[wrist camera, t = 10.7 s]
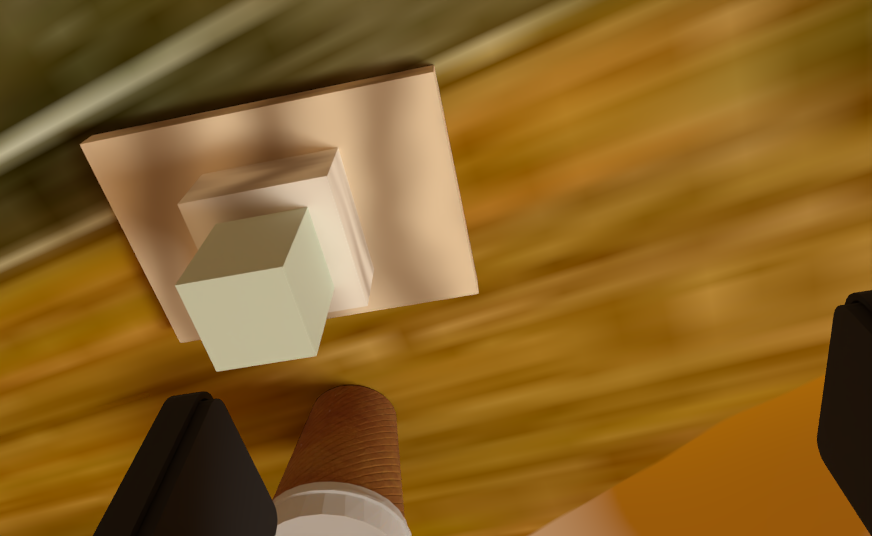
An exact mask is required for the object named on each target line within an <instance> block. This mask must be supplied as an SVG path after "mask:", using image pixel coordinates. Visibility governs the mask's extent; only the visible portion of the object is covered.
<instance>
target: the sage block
mask: <svg viewBox="0 0 872 536" xmlns="http://www.w3.org/2000/svg"><path fill="white" fill-rule="evenodd" d="M175 287H176V289H177V291H178V293H179V295H180V297H181V299H182V301H183V303H184V305H185V307H186V309H187V311H188V314H189V316H190V318H191V320H192V322H193V324H194V326H195V328H196V330H197V332H198V334H199V336H200V338H201V340H202V343H203V345H204V347H205V349H206V351H207V353H208V355H209V357H210V359H211V361H212V363H213V365H214V367H215V369H216V371H217V372H218V371H224V370H230V369H237V368H243V367H249V366H256V365H262V364H268V363H275V362H281V361H287V360H294V359H300V358H306V357H313V356H317V352H318V348H319V344H320V341H321V337H322V333H323V329H324V325H325V322H326V318H327V314H328V310H329V307H330V303H331V299H332V295H333V292H334V288H335V287H334V284H333V281H332V278H331V275H330V272H329V269H328V266H327V263H326V260H325V257H324V254H323V251H322V248H321V245H320V242H319V240H318V237H317V234H316V231H315V228H314V225H313V222H312V219H311V216H310V213H309V210H308V207H305V208H299V209H294V210H288V211H283V212H277V213H272V214H267V215H261V216H256V217H250V218H245V219H239V220H234V221H229V222H223V223H218V224H215V226H214V227H213V229H212V230H211V232H210V233H209V235H208V236H207V238H206V239H205V241H204V242H203V244H202V245H201V247H200V248H199V250H198V251H197V253H196V254H195V256H194V257H193V259H192V260H191V262H190V263H189V265H188V266H187V268H186V269H185V271H184V273H183V274H182V276H181V277H180V279H179V280H178V282H177V283H176V285H175Z"/></svg>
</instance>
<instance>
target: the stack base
mask: <svg viewBox="0 0 872 536" xmlns="http://www.w3.org/2000/svg"><path fill="white" fill-rule="evenodd" d="M80 146H81V148H82V150H83V152H84V154H85V156H86V158H87V160H88V162H89V164H90V166H91V168H92V170H93V172H94V174H95V176H96V178H97V180H98V182H99V184H100V186H101V188H102V190H103V192H104V194H105V196H106V198H107V199H108V201H109V203H110V205H111V207H112V209H113V211H114V213H115V215H116V217H117V219H118V221H119V223H120V225H121V227H122V229H123V231H124V233H125V235H126V237H127V239H128V241H129V243H130V245H131V247H132V249H133V251H134V253H135V255H136V257H137V259H138V261H139V263H140V264H141V266H142V268H143V270H144V272H145V274H146V276H147V278H148V280H149V282H150V284H151V286H152V288H153V290H154V292H155V294H156V296H157V298H158V300H159V302H160V304H161V306H162V308H163V310H164V312H165V314H166V316H167V318H168V320H169V322H170V324H171V326H172V328H173V329H174V331H175V333H176V335H177V337H178V339H179V341H180V343H183V342H189V341H195V340H201V338H200V336H199V334H198V332H197V330H196V328H195V326H194V324H193V322H192V320H191V318H190V316H189V314H188V311H187V309H186V307H185V305H184V303H183V301H182V299H181V297H180V295H179V293H178V291H177V289H176V287H175V285H176V283H177V282H178V280H179V279H180V277H181V276H182V274H183V273H184V271H185V269H186V268H187V266H188V265H189V263H190V262H191V260H192V259H193V257H194V256H195V254H196V253H197V251H198V250H199V248H200V247H201V245H202V244H203V242H204V241H205V239H206V238H207V236H208V235H209V233H210V232H211V230H212V229H213V227H214V226H215V224H218V223H223V222H229V221H234V220H239V219H245V218H250V217H256V216H261V215H267V214H272V213H277V212H283V211H288V210H294V209H299V208H305V207H308V210H309V213H310V216H311V219H312V222H313V225H314V228H315V231H316V234H317V237H318V240H319V242H320V245H321V248H322V251H323V254H324V257H325V260H326V263H327V266H328V269H329V272H330V275H331V278H332V281H333V284H334V287H335V288H334V292H333V295H332V299H331V303H330V307H329V310H328V314H327V318H326V319H328V318H334V317H340V316H346V315H352V314H358V313H364V312H370V311H376V310H382V309H388V308H394V307H400V306H406V305H412V304H418V303H424V302H430V301H436V300H442V299H448V298H455V297H461V296H467V295H473V294H479V292H478V281H477V276H476V271H475V266H474V261H473V256H472V251H471V246H470V241H469V236H468V231H467V226H466V221H465V216H464V212H463V207H462V202H461V197H460V192H459V187H458V182H457V177H456V172H455V167H454V162H453V157H452V152H451V147H450V142H449V137H448V132H447V127H446V122H445V117H444V112H443V107H442V102H441V98H440V93H439V88H438V83H437V78H436V73H435V68H434V65H431V66H426V67H421V68H416V69H411V70H406V71H402V72H397V73H392V74H387V75H382V76H377V77H372V78H368V79H363V80H358V81H353V82H348V83H343V84H338V85H334V86H329V87H324V88H319V89H314V90H309V91H305V92H300V93H295V94H290V95H285V96H280V97H275V98H271V99H266V100H261V101H256V102H251V103H246V104H242V105H237V106H232V107H227V108H222V109H217V110H212V111H208V112H203V113H198V114H193V115H188V116H183V117H179V118H174V119H169V120H164V121H159V122H154V123H149V124H145V125H140V126H135V127H130V128H125V129H120V130H115V131H111V132H106V133H101V134H96V135H92V136H91V137H89V138H88V139H86V140H85V141H84V142H82V143H81V144H80Z"/></svg>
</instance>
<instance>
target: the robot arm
mask: <svg viewBox="0 0 872 536" xmlns="http://www.w3.org/2000/svg"><path fill="white" fill-rule="evenodd" d="M817 434H818V435H817V443H818V449H819V452H820V455H821V457H822V460H823V461H824V463H825V465H826V466H827V468H828V470H829V471H830V473H831V474H832V476H833V477H834V479H835V480H836V482H837V483H838V485H839V487H840V488H841V490H842V491H843V493H844V494H845V496H846V497H847V499H848V501H849V502H850V504H851V505H852V507H853V508H854V510H855V511H856V513H857V515H858V516H859V518H860V519H861V521H862V522H863V524H864V525H865V527H866V528H867V530H868V531H869V533H870V535H871V536H872V290H870V291H863V292H857V293H853V294H850V295H849V296H848V298H847V299H846V302H845V305H840V306H837V308H836V309H835V312H834V317H833V324H832V332H831V339H830V346H829V353H828V361H827V368H826V375H825V383H824V390H823V397H822V405H821V412H820V419H819V426H818V433H817ZM277 522H278V519H277V511H276V507H275V505H274V503H273V501H272V499H271V497H270V495H269V493H268V491H267V489H266V487H265V485H264V483H263V481H262V479H261V477H260V475H259V473H258V471H257V469H256V467H255V465H254V463H253V461H252V459H251V457H250V455H249V453H248V451H247V449H246V447H245V445H244V443H243V441H242V439H241V437H240V435H239V433H238V431H237V429H236V427H235V425H234V423H233V421H232V419H231V417H230V415H229V413H228V411H227V409H226V407H225V405H224V403H223V402H222V401H221V400H220V399H213V397H212V396H211V394H209V393H208V392H196V393H190V394H183V395H177V396H171V397H170V398H168V399H167V400H166V401H165V403H164V404H163V406H162V408H161V410H160V412H159V414H158V415H157V417H156V419H155V421H154V423H153V425H152V427H151V428H150V430H149V432H148V434H147V436H146V438H145V440H144V441H143V443H142V445H141V447H140V449H139V451H138V453H137V454H136V456H135V458H134V460H133V462H132V464H131V466H130V468H129V469H128V471H127V473H126V475H125V477H124V479H123V481H122V482H121V484H120V486H119V488H118V490H117V492H116V494H115V495H114V497H113V499H112V501H111V503H110V505H109V507H108V508H107V510H106V512H105V514H104V516H103V518H102V520H101V521H100V523H99V525H98V527H97V529H96V531H95V533H94V535H93V536H275V535H276V530H277Z"/></svg>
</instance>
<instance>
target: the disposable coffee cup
mask: <svg viewBox="0 0 872 536" xmlns="http://www.w3.org/2000/svg"><path fill="white" fill-rule="evenodd" d="M396 419H397V418H396V412H395V410H394V407H393V406H392V404H391V403H390V401H389V400H388V399H387V398H385V397H384V396H383V395H382V394H380V393H378V392H377V391H374V390H372V389H369V388H366V387H362V386H355V385H349V386H340V387H336V388H333V389H331V390H328V391H327V392H325V393H323V394H322V395H321V396H320V397H319V398H318V399H317V400H316V402H315V404H314V406H313V408H312V411H311V413H310V415H309V417H308V420H307V422H306V424H305V427H304V429H303V431H302V434H301V436H300V438H299V440H298V442H297V445H296V447H295V449H294V452H293V454H292V456H291V459H290V461H289V463H288V466H287V468H286V470H285V473H284V475H283V477H282V479H281V482H280V484H279V486H278V489H277V491H276V494H275V496H274V498H273V500H272V501H273V503H274V505H275V507H276V511H277V519H278V522H277V530H276V535H275V536H411V532H410V530H409V528H408V526H407V523H406V520H405V518H404V513H403V512H404V506H403V497H402V495H403V493H402V489H401V488H402V484H401V480H402V479H401V474H400V473H401V471H400V467H399V466H400V461H399V458H400V457H399V453H398V452H399V448H398V440H397V439H398V435H397V423H396Z"/></svg>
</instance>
